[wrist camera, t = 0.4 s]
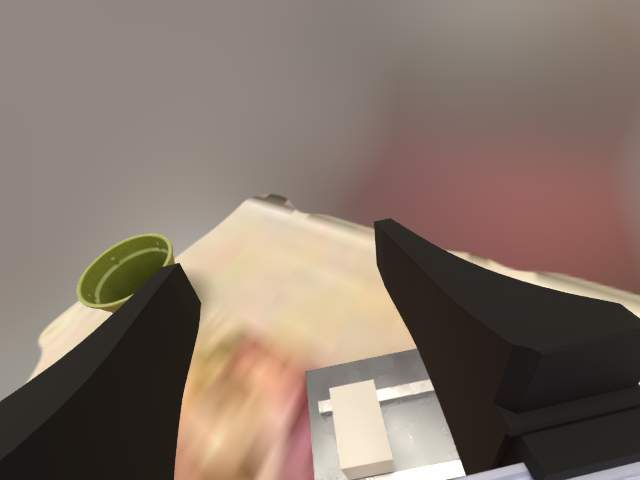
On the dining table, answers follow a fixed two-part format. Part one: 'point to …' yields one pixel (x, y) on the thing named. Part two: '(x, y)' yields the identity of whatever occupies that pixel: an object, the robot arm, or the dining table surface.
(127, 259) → the plant pot
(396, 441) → the fader console
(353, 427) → the fader tab
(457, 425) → the robot arm
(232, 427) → the dining table surface
